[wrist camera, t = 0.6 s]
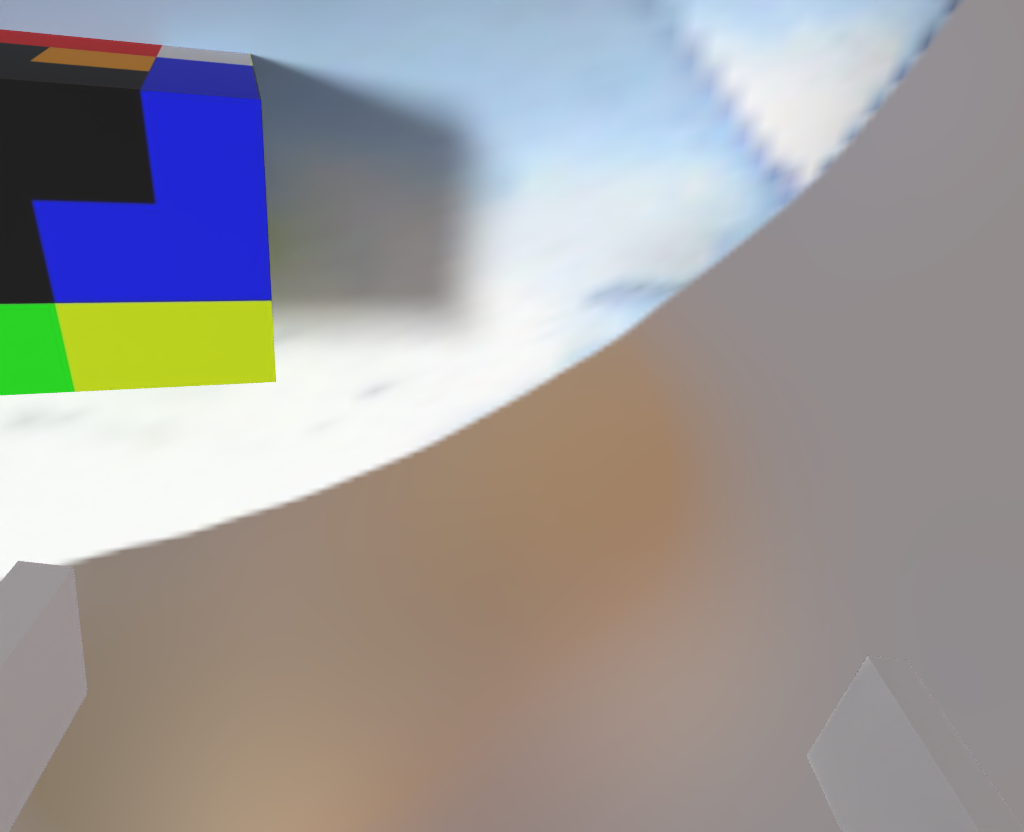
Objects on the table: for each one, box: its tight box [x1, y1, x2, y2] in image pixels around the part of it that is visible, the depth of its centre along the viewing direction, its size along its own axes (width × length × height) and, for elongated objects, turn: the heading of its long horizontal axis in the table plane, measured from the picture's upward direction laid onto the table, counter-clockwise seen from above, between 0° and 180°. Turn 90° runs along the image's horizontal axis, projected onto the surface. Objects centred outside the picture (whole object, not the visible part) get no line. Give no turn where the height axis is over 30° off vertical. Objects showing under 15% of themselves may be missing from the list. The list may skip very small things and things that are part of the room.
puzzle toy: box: [0, 30, 276, 395], centre depth 27 cm, size 10×10×10 cm
